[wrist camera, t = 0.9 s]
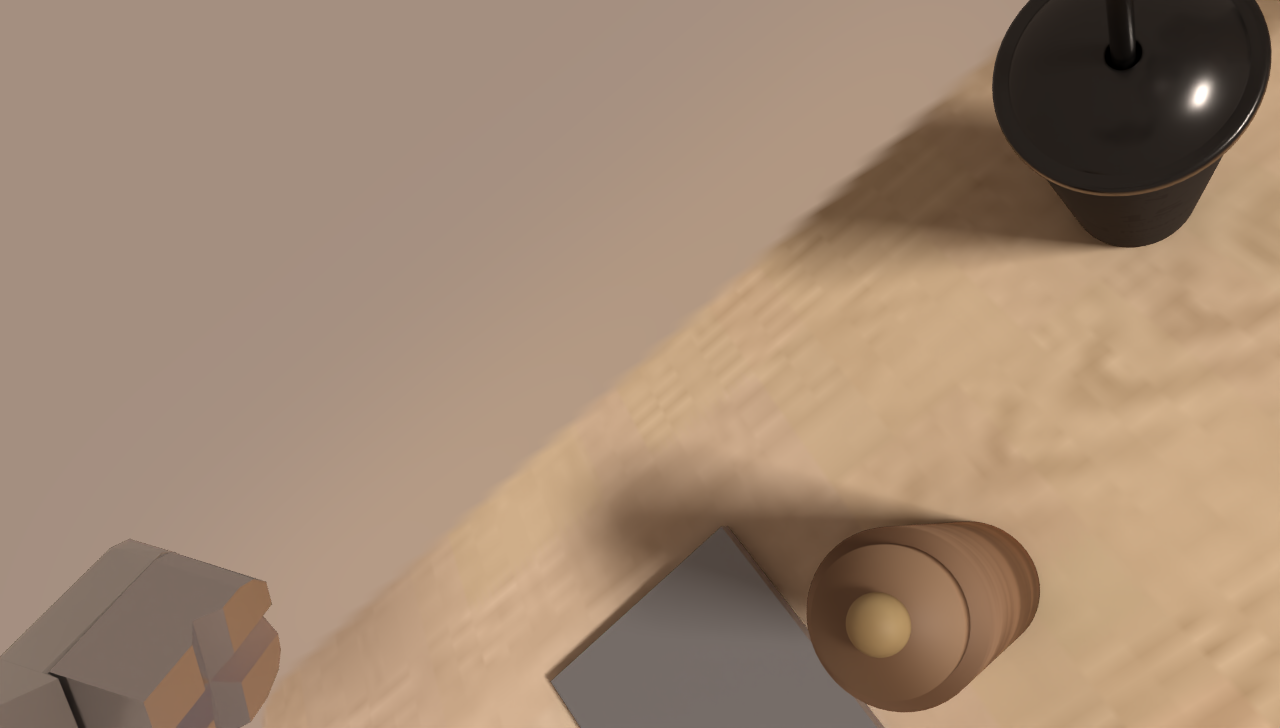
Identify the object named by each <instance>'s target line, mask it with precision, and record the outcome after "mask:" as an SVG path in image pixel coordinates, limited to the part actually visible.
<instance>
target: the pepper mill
mask: <svg viewBox="0 0 1280 728" xmlns="http://www.w3.org/2000/svg"><path fill="white" fill-rule="evenodd" d="M1039 597H1040V584H1039V578H1038V574H1037V571H1036V567H1035V565H1034V563H1033V561H1032V559H1031V557H1030V556H1029V554H1028V552H1027V551H1026V550H1025V549H1024V547H1023V546H1022V545H1021V544H1020V543H1019V542H1018V541H1017V540H1016V539H1015V538H1013V537H1012V536H1011V535H1009V534H1008V533H1006V532H1005V531H1003V530H1001V529H999V528H997V527H994V526H992V525H988V524H985V523H979V522H954V523H938V524H922V525H906V526H890V527H879V528H873V529H869V530H865V531H862V532H860V533H857V534H854V535H853V536H851V537H849V538H847V539H845V540H844V541H843V542H841V543H840V544H839V545H837V546H836V547H835V548H834V549H833V550H832V551H831V552H830V553H829V554H828V555H827V556H826V557H825V559H824V560H823V561H822V563H821V564H820V566H819V568H818V569H817V571H816V573H815V575H814V578H813V580H812V583H811V586H810V590H809V594H808V601H807V624H808V631H809V635H810V639H811V642H812V645H813V648H814V650H815V653H816V655H817V657H818V659H819V660H820V662H821V664H822V665H823V667H824V668H825V670H826V671H827V673H828V674H829V675H830V676H831V677H832V679H833V680H834V681H835V682H836V683H837V684H838V685H839V686H840V687H841V688H843V689H844V690H845V691H846V692H847V693H849V694H850V695H852V696H853V697H855V698H856V699H858V700H860V701H862V702H864V703H866V704H868V705H871V706H873V707H876V708H879V709H883V710H887V711H895V712H915V711H922V710H926V709H929V708H933V707H936V706H938V705H940V704H942V703H944V702H946V701H948V700H949V699H951V698H952V697H954V696H955V695H957V694H958V693H959V692H960V691H961V690H962V689H963V688H965V687H966V686H967V685H968V684H969V683H970V682H971V681H972V680H973V679H974V678H975V677H976V676H977V675H978V674H980V673H981V672H982V671H983V670H984V669H985V668H986V667H987V666H988V665H989V664H990V663H991V662H992V661H993V660H994V659H996V658H997V657H998V656H999V655H1000V654H1001V653H1002V652H1003V651H1004V650H1005V649H1006V648H1007V647H1008V646H1009V645H1011V644H1012V643H1013V642H1014V641H1015V640H1016V639H1017V638H1018V637H1019V636H1020V635H1021V634H1022V633H1023V632H1024V631H1025V630H1026V629H1027V628H1028V626H1029V625H1030V623H1031V622H1032V620H1033V618H1034V616H1035V614H1036V611H1037V608H1038V604H1039Z"/></svg>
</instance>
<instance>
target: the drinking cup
mask: <svg viewBox="0 0 1280 728" xmlns="http://www.w3.org/2000/svg"><path fill="white" fill-rule="evenodd" d="M1270 69H1271V41H1270V35H1269V31H1268V27H1267V24H1266V21H1265V18H1264V16H1263V13H1262V11H1261V9H1260V7H1259V5H1258V4H1257V2H1256V1H1255V0H1030V1H1029V2H1028V3H1027V4H1026V5H1025V6H1024V7H1023V8H1022V10H1021V11H1020V12H1019V14H1018V15H1017V16H1016V18H1015V19H1014V21H1013V22H1012V24H1011V25H1010V27H1009V29H1008V31H1007V32H1006V34H1005V36H1004V39H1003V41H1002V43H1001V46H1000V48H999V51H998V54H997V58H996V61H995V66H994V72H993V83H992V91H993V102H994V108H995V112H996V116H997V120H998V123H999V125H1000V127H1001V130H1002V132H1003V134H1004V136H1005V138H1006V140H1007V142H1008V143H1009V145H1010V146H1011V147H1012V149H1013V150H1014V152H1015V153H1016V154H1017V155H1018V156H1019V158H1020V159H1021V160H1022V161H1023V162H1024V163H1025V164H1026V165H1028V166H1029V167H1030V168H1031V169H1032V170H1033V171H1035V172H1036V173H1038V174H1039V175H1040V176H1042V177H1044V178H1045V179H1047V181H1048V182H1049V183H1050V185H1051V186H1052V187H1053V189H1054V190H1055V191H1056V192H1057V194H1058V195H1059V196H1060V198H1061V199H1062V200H1063V202H1064V203H1065V204H1066V206H1067V207H1068V208H1069V209H1070V211H1071V212H1072V213H1073V215H1074V216H1075V217H1076V219H1077V220H1078V221H1079V223H1080V224H1081V225H1082V226H1083V227H1084V229H1085V230H1086V231H1087V232H1089V233H1090V234H1091V235H1092V236H1094V237H1095V238H1097V239H1099V240H1101V241H1103V242H1105V243H1108V244H1111V245H1115V246H1120V247H1140V246H1146V245H1150V244H1153V243H1156V242H1158V241H1161V240H1163V239H1165V238H1167V237H1168V236H1170V235H1171V234H1173V233H1174V232H1175V231H1177V230H1178V229H1179V228H1180V227H1181V226H1182V225H1183V224H1184V223H1185V222H1186V221H1187V219H1188V218H1189V216H1190V215H1191V213H1192V211H1193V210H1194V208H1195V206H1196V204H1197V202H1198V200H1199V199H1200V197H1201V195H1202V193H1203V191H1204V189H1205V188H1206V186H1207V184H1208V182H1209V180H1210V178H1211V176H1212V175H1213V173H1214V171H1215V169H1216V167H1217V165H1218V164H1219V162H1220V160H1221V158H1222V156H1223V155H1224V154H1225V153H1226V152H1227V151H1228V150H1229V149H1230V148H1231V147H1232V146H1233V145H1234V144H1235V143H1236V142H1237V141H1238V140H1239V138H1240V137H1241V136H1242V134H1243V133H1244V132H1245V131H1246V129H1247V128H1248V126H1249V125H1250V123H1251V122H1252V120H1253V119H1254V117H1255V115H1256V113H1257V111H1258V109H1259V107H1260V105H1261V102H1262V100H1263V97H1264V95H1265V92H1266V88H1267V84H1268V81H1269V76H1270Z"/></svg>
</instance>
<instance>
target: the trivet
mask: <svg viewBox="0 0 1280 728" xmlns="http://www.w3.org/2000/svg"><path fill="white" fill-rule="evenodd" d="M551 683H552V684H553V686H554V687H555V689H556V690H557V692H558V694H559V695H560V697H561V698H562V700H563V701H564V703H565V704H566V706H567V707H568V709H569V711H570V712H571V714H572V715H573V717H574V718H575V720H576V721H577V723H578V724H579V726H580V728H884V727H883V725H882V724H881V723H880V721H879V720H878V719H877V718H876V716H875V715H874V714H873V712H872V711H871V710H870V709H869V707H868V706H867V705H866V703H864V702H862V701H860V700H858V699H856V698H855V697H853V696H852V695H850V694H849V693H847V692H846V691H845V690H844V689H843V688H841V687H840V686H839V685H838V684H837V683H836V682H835V681H834V680H833V679H832V677H831V676H830V675H829V674H828V673H827V671H826V670H825V668H824V667H823V665H822V664H821V662H820V660H819V659H818V657H817V655H816V653H815V650H814V648H813V645H812V642H811V639H810V635H809V631H808V629H807V628H806V626H805V625H804V624H803V623H802V621H801V620H800V619H799V617H798V616H797V615H796V614H795V612H794V611H793V610H792V608H791V607H790V606H789V605H788V603H787V602H786V601H785V599H784V598H783V597H782V596H781V594H780V593H779V592H778V590H777V589H776V588H775V587H774V585H773V584H772V583H771V581H770V580H769V579H768V578H767V576H766V575H765V574H764V572H763V571H762V570H761V569H760V567H759V566H758V565H757V563H756V562H755V561H754V560H753V558H752V557H751V556H750V554H749V553H748V552H747V551H746V549H745V548H744V547H743V545H742V544H741V543H740V542H739V540H738V539H737V538H736V536H735V535H734V534H733V533H732V531H731V530H730V529H729V527H728V526H722V527H720V528H719V529H718V530H717V531H716V532H715V533H714V534H713V535H711V536H710V537H709V538H708V539H707V540H706V541H705V542H704V543H703V544H702V545H700V546H699V547H698V548H697V549H696V550H695V551H694V552H693V553H692V554H691V555H689V556H688V557H687V558H686V559H685V560H684V561H683V562H682V563H681V564H680V565H678V566H677V567H676V568H675V569H674V570H673V571H672V572H671V573H670V574H668V575H667V576H666V577H665V578H664V579H663V580H662V581H661V582H660V583H659V584H657V585H656V586H655V587H654V588H653V589H652V590H651V591H650V592H649V593H648V594H646V595H645V596H644V597H643V598H642V599H641V600H640V601H639V602H638V603H637V604H635V605H634V606H633V607H632V608H631V609H630V610H629V611H628V612H627V613H626V614H624V615H623V616H622V617H621V618H620V619H619V620H618V621H617V622H616V623H614V624H613V625H612V626H611V627H610V628H609V629H608V630H607V631H606V632H605V633H603V634H602V635H601V636H600V637H599V638H598V639H597V640H596V641H595V642H594V643H592V644H591V645H590V646H589V647H588V648H587V649H586V650H585V651H584V652H583V653H581V654H580V655H579V656H578V657H577V658H576V659H575V660H574V661H573V662H571V663H570V664H569V665H568V666H567V667H566V668H565V669H564V670H563V671H562V672H560V673H559V674H558V675H557V676H556V677H555V678H554V679H553V680H552V681H551Z"/></svg>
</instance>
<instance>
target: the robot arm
mask: <svg viewBox="0 0 1280 728" xmlns="http://www.w3.org/2000/svg"><path fill="white" fill-rule="evenodd" d="M271 605H272V603H271V599H270V595H269V592H268V588H267V584H266V582H265V581H262V580H258V579H256V578H252V577H249V576H246V575H243V574H240V573H236V572H233V571H230V570H227V569H224V568H221V567H217V566H214V565H211V564H208V563H205V562H202V561H198V560H195V559H192V558H189V557H186V556H182V555H179V554H177V553H175V552H172V551H168V550H165V549H162V548H158V547H154V546H151V545H148V544H145V543H141V542H138V541H134V540H131V539H128V540H126V541H124V542H122V543H120V544H118V545H115V546H113V547H111V548H110V549H109V550H108V551H107V552H106V553H105V554H104V555H103V556H102V557H101V558H100V559H99V560H98V561H97V562H96V563H95V564H94V565H93V566H92V567H91V568H90V569H89V570H88V571H87V572H86V573H85V574H83V575H82V576H81V577H80V579H78V580H77V581H76V582H75V583H74V584H73V585H72V586H71V587H70V588H69V589H68V590H67V591H66V592H65V593H64V594H63V595H62V596H61V597H60V598H59V599H58V600H57V601H56V602H55V603H54V604H53V605H52V606H51V607H50V608H49V609H48V610H47V611H46V612H45V613H44V614H43V615H42V616H41V617H40V618H39V619H38V620H37V621H36V622H35V623H34V624H33V625H32V626H31V627H30V628H29V629H28V630H27V631H26V632H25V633H24V634H23V635H22V636H21V637H19V639H17V641H15V643H14V644H12V645H11V646H10V647H9V648H8V649H7V650H6V651H5V652H4V654H2V655H1V656H0V728H240V727H242V726H244V725H246V724H248V723H250V722H251V721H252V719H253V718H254V717H255V715H256V714H257V712H258V711H259V709H260V708H261V706H262V705H263V703H264V702H265V700H266V699H267V697H268V695H269V692H270V690H271V687H272V685H273V682H274V680H275V678H276V675H277V672H278V669H279V661H280V651H281V648H280V643H279V637H278V633H277V632H276V631H275V629H274V628H273V627H272V626H271V625H270V624H269V623H268V621H267V620H266V619H265V618H264V617H263V615H264V614H265V612H266V611H267V610H268V608H269V607H270V606H271Z"/></svg>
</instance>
